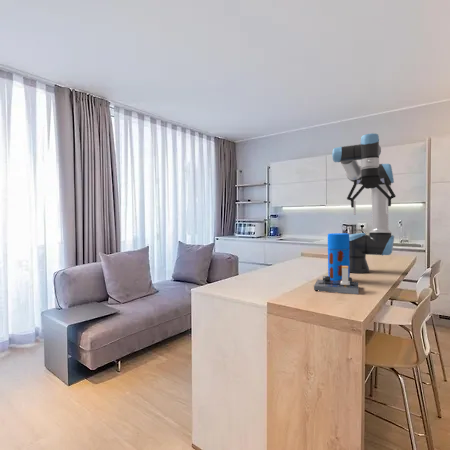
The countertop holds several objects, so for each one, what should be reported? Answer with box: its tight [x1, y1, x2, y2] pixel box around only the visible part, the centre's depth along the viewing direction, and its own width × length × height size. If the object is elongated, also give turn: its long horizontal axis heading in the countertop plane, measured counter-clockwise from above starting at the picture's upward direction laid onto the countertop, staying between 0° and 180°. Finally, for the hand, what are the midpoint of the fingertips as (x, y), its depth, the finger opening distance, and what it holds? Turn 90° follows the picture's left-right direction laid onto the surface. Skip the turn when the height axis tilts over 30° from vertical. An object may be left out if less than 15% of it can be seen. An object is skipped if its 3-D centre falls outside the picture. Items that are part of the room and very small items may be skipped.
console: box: [313, 275, 359, 295], centre depth 144 cm, size 14×19×4 cm
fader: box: [340, 266, 350, 285], centre depth 141 cm, size 5×4×8 cm
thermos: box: [327, 232, 351, 281], centre depth 162 cm, size 11×11×25 cm
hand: (370, 214), depth 141 cm, fingers open, 13 cm apart
